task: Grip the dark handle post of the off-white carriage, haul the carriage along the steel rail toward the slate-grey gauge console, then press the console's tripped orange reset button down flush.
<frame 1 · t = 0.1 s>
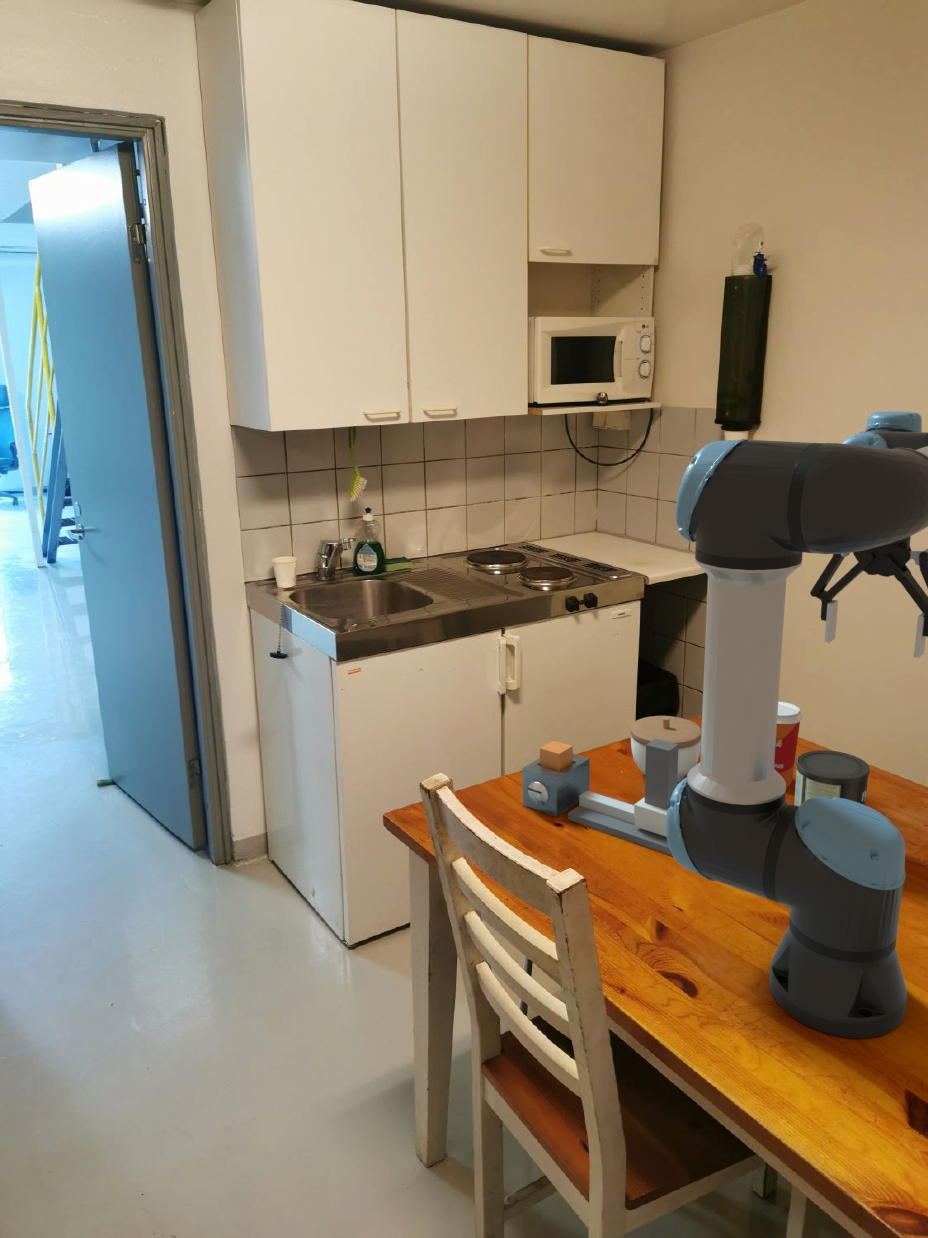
hand: (873, 647, 146), 28 cm above the table, tool pointing down, fingers open, 13 cm apart
rail bed: (632, 825, 150), on the table
gauge console: (556, 800, 159), on the table
coffee can: (825, 848, 142), on the table
paper cup: (774, 782, 164), on the table
carriage: (661, 785, 144), point 9 cm above the table, slide at -5.0 cm
lidded bowl: (664, 775, 168), on the table
reset button: (556, 757, 157), point 8 cm above the table, slide at 2.5 cm
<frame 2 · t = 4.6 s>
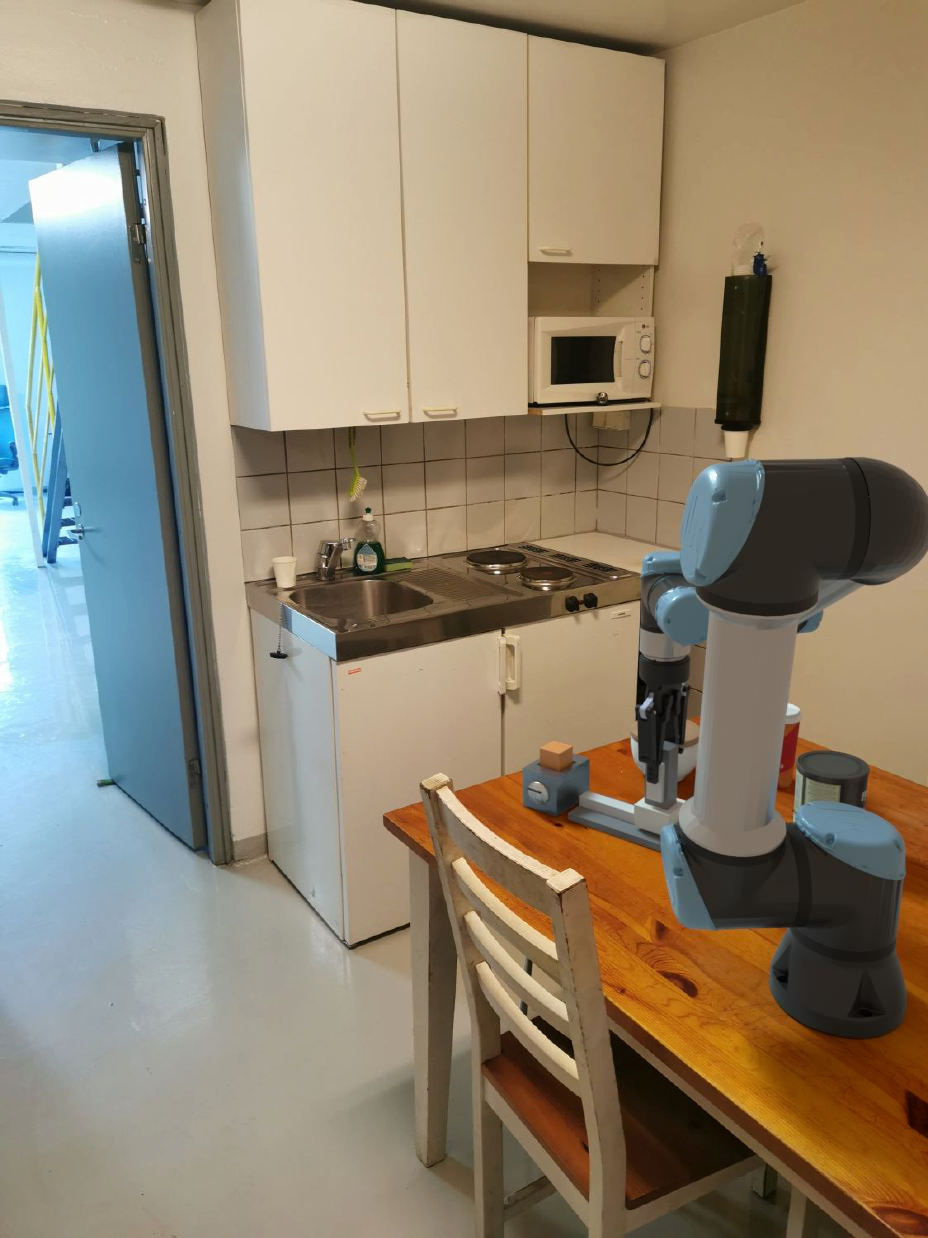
hand: (660, 795, 145), 7 cm above the table, tool pointing down, fingers closed on carriage, 3 cm apart
carriage: (661, 785, 144), point 9 cm above the table, slide at -5.0 cm, touching gripper
everything else where it was.
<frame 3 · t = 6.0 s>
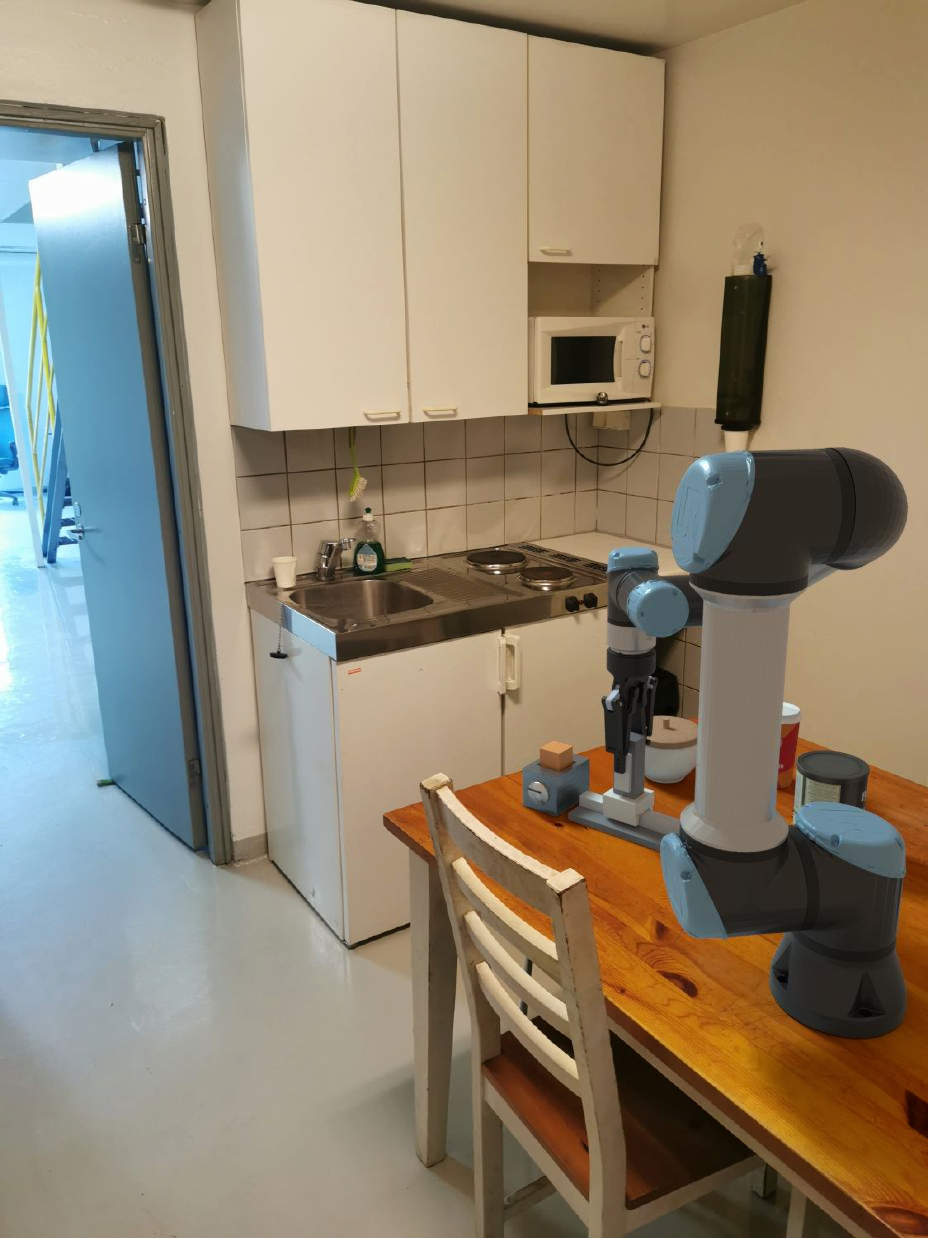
hand: (628, 785, 149), 7 cm above the table, tool pointing down, fingers closed on carriage, 3 cm apart
carriage: (628, 775, 148), point 9 cm above the table, slide at 0.8 cm, touching gripper
everything else where it was.
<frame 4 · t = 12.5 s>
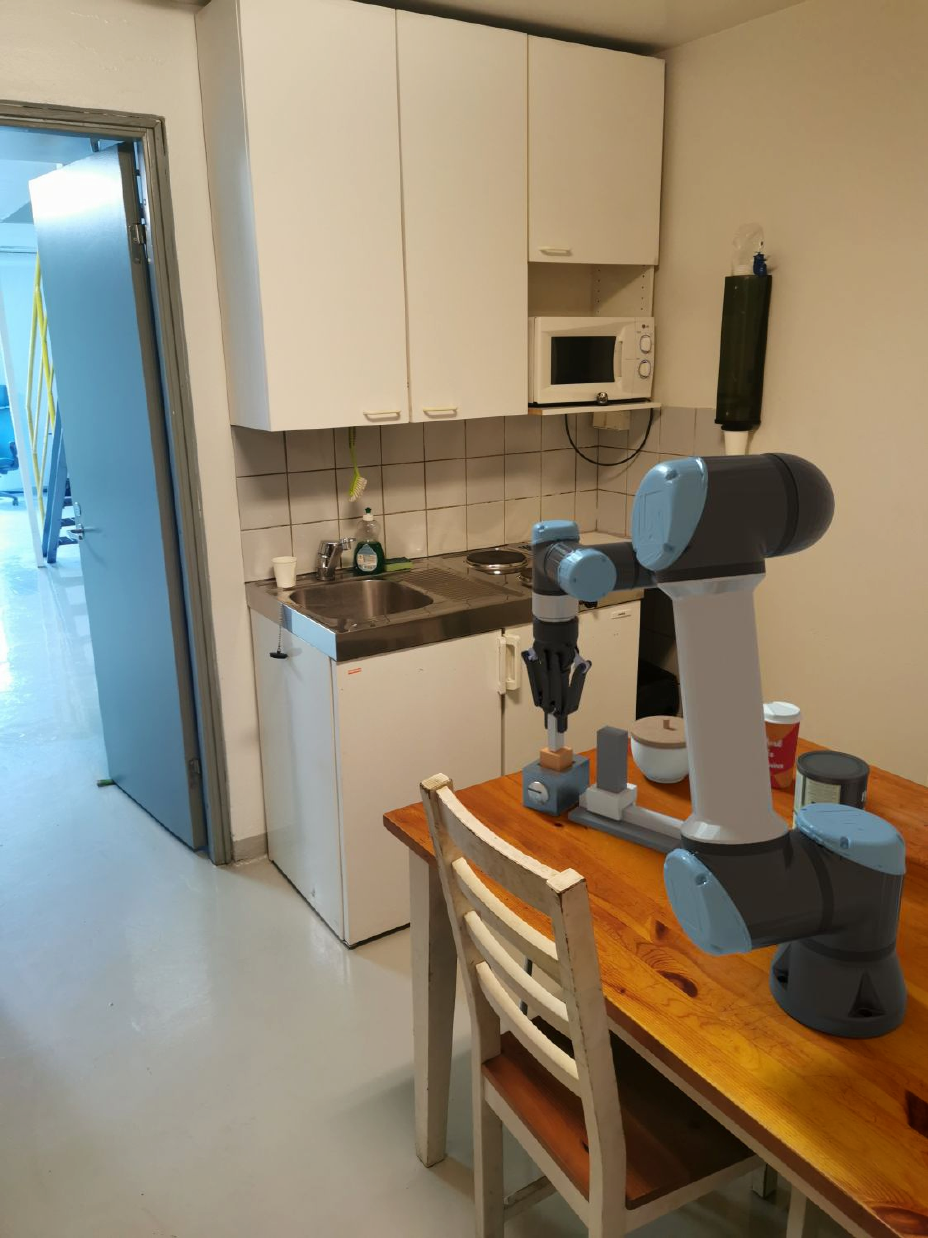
hand: (556, 748, 157), 10 cm above the table, tool pointing down, fingers closed
carriage: (611, 770, 150), point 9 cm above the table, slide at 4.0 cm
reset button: (556, 760, 157), point 8 cm above the table, slide at 2.0 cm, touching gripper
everything else where it was.
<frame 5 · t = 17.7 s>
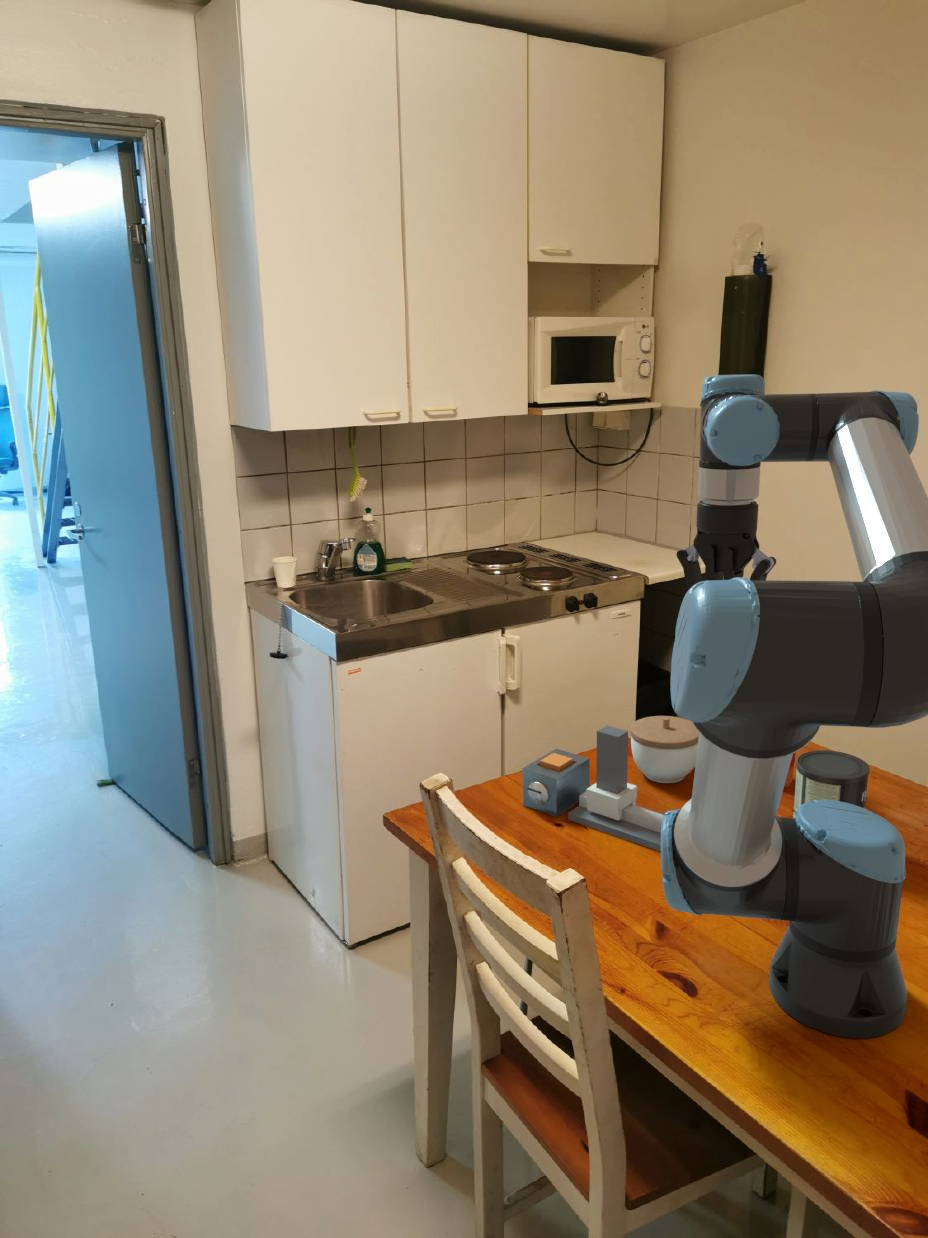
hand: (719, 675, 123), 32 cm above the table, tool pointing down, fingers closed
reset button: (556, 770, 158), point 6 cm above the table, slide at 0.2 cm
everything else where it was.
at the end: carriage slide at 4.0 cm; reset button slide at 0.2 cm; the gripper is holding nothing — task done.
